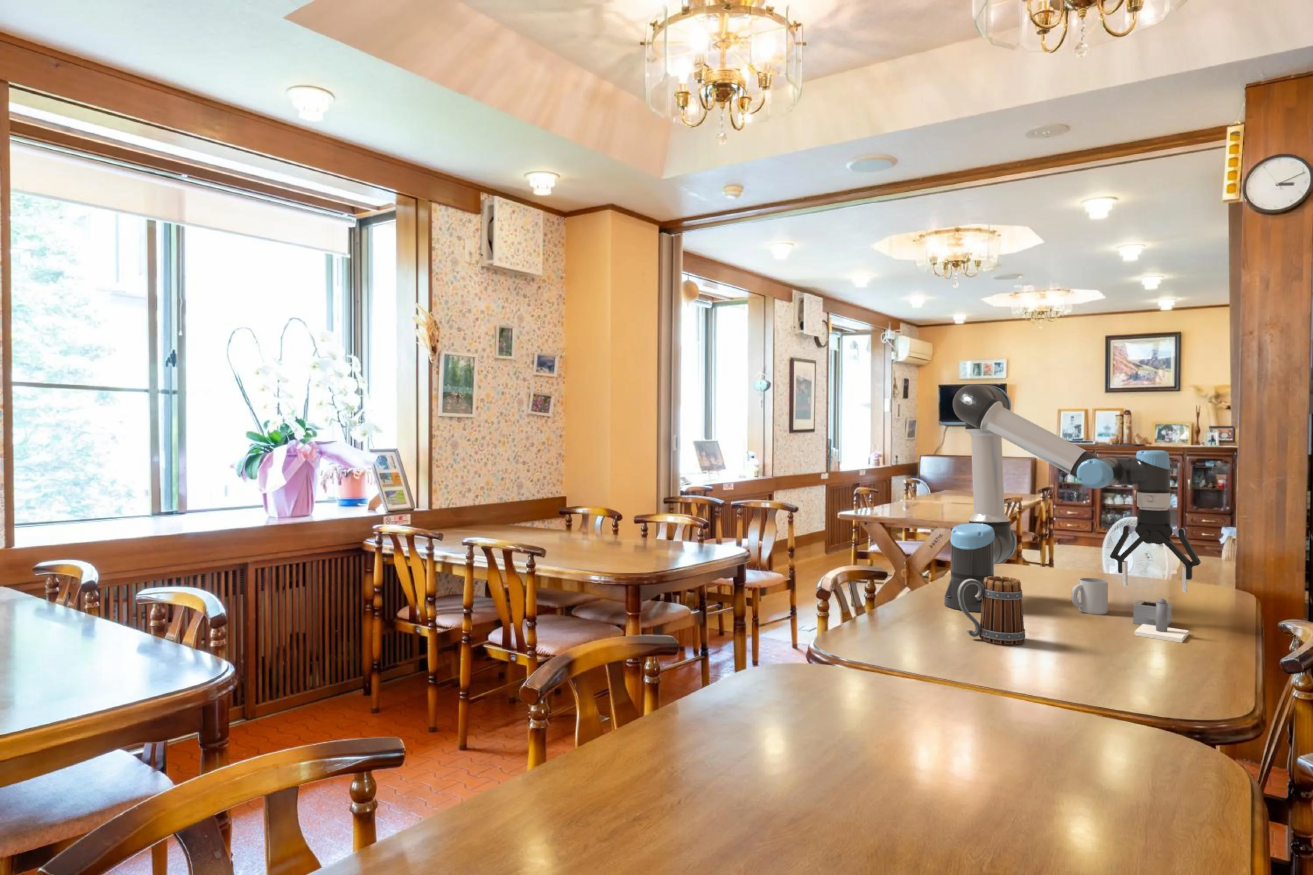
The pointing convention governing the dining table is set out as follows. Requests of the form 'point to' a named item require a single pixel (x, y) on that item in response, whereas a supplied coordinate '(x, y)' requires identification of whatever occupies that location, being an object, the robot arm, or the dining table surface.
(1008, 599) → the mug
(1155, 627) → the peg stand
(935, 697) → the dining table surface
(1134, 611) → the grey square storage bin
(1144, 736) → the dining table surface
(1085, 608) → the cup
